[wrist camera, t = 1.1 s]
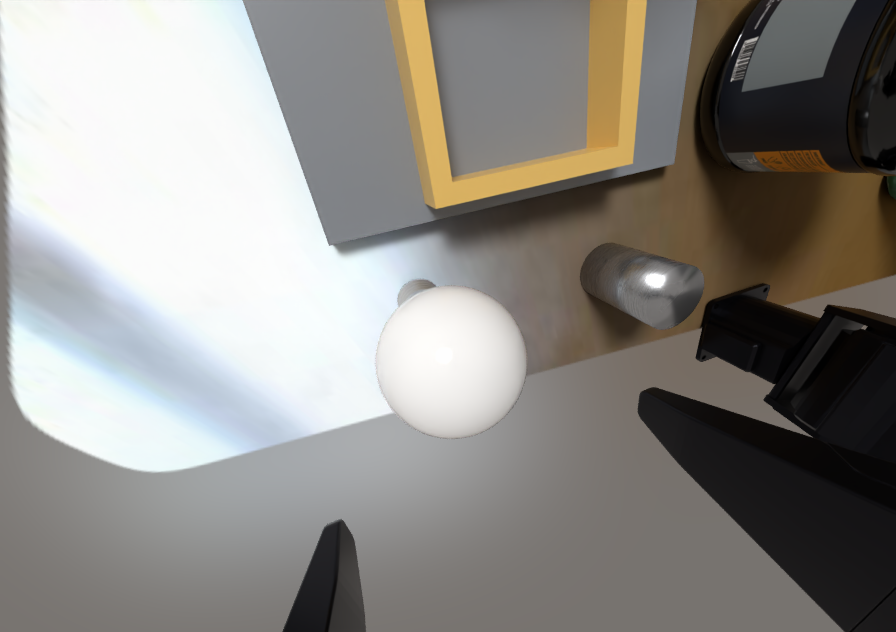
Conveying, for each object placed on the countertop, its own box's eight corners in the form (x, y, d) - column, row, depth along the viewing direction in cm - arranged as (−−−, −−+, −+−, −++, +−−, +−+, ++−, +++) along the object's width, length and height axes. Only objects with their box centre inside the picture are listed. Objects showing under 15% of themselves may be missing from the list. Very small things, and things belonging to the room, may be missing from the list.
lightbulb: (457, 338, 23) (537, 463, 13) (364, 340, 21) (379, 488, 11) (470, 249, 20) (579, 324, 11) (366, 242, 18) (388, 326, 9)
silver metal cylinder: (629, 236, 23) (710, 257, 18) (624, 287, 25) (697, 319, 20) (580, 250, 23) (650, 275, 17) (579, 300, 25) (642, 337, 19)
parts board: (696, -129, 16) (781, -200, 13) (660, 164, 22) (712, 163, 19) (209, -103, 12) (162, -195, 9) (329, 241, 18) (326, 257, 15)
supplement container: (763, 185, 25) (1066, 199, 14) (663, 155, 21) (965, 146, 11) (850, 12, 21) (1354, -140, 10) (745, -56, 18) (1336, -385, 7)
